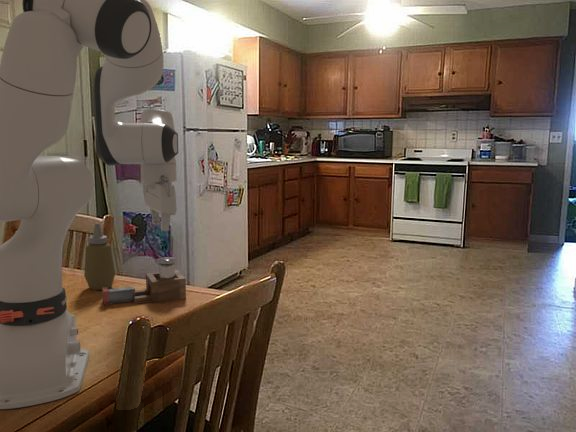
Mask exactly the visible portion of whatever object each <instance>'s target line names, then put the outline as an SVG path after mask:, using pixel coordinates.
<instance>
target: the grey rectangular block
mask: <svg viewBox="0 0 576 432" xmlns="http://www.w3.org/2000/svg"><path fill="white" fill-rule="evenodd" d="M101 291H102V292H101V294H102V303H103V306H105V307H106V306H110V305H112V304H119V303H120V304H121V303H129V302H134V297H135V291H136V288H135V286H134V285H131V286H123V287H115V288H107V287H103V288H102V290H101Z"/></svg>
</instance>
